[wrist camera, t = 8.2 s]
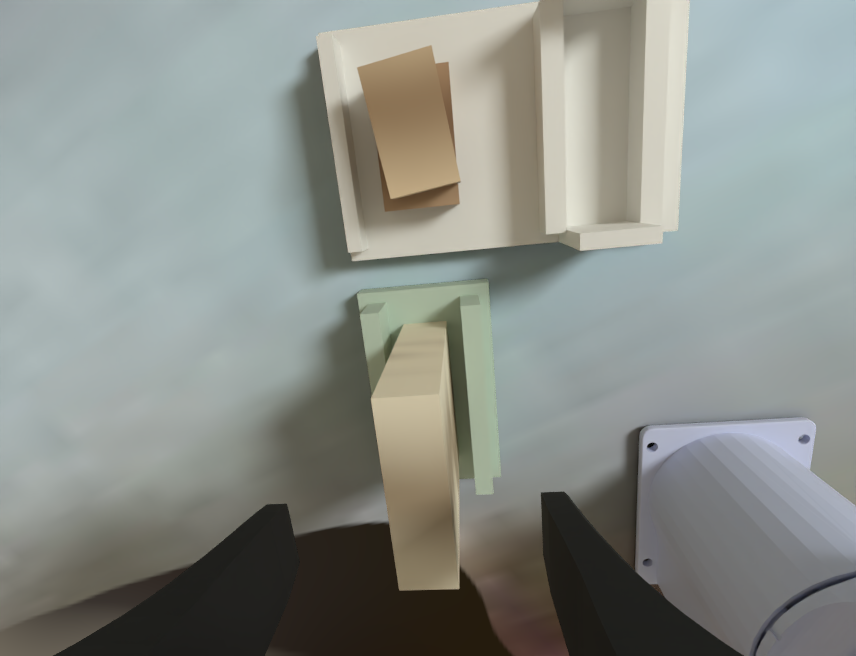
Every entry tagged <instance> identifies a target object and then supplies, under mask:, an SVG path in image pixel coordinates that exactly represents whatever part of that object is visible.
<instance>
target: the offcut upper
mask: <svg viewBox="0 0 856 656" xmlns="http://www.w3.org/2000/svg"><path fill="white" fill-rule="evenodd" d="M357 70H358V74H359V78H360V81H361V85H362V89H363V93H364V97H365V101H366V105H367V109H368V113H369V117H370V120H371V124H372V128H373V132H374V136H375V140H376V144H377V148H378V152H379V156H380V159H381V163H382V167H383V171H384V175H385V179H386V183H387V187H388V191H389V194H390V198H391V199H398V198H402V197H406V196H410V195H414V194H418V193H422V192H425V191H429V190H433V189H437V188H441V187H445V186H449V185H453V184H456V183H460V182H461V180H460V176H459V171H458V166H457V162H456V157H455V152H454V148H453V143H452V139H451V134H450V129H449V125H448V120H447V115H446V111H445V106H444V101H443V97H442V92H441V87H440V83H439V78H438V73H437V69H436V64H435V59H434V55H433V50H432V45H430V46H427V47H423V48H420V49H417V50H413V51H410V52H407V53H403V54H400V55H397V56H394V57H390V58H387V59H384V60H380V61H377V62H374V63H370V64H367V65H364V66H360V67H357Z"/></svg>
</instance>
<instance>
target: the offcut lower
mask: <svg viewBox="0 0 856 656" xmlns="http://www.w3.org/2000/svg"><path fill="white" fill-rule="evenodd" d="M436 69H437V73H438V78H439V83H440V87H441V92H442V97H443V101H444V106H445V111H446V115H447V120H448V125H449V129H450V134H451V139H452V143H453V148H454V152H455V157H456V150H455V138H454V125H453V112H452V99H451V87H450V74H449V62H443V63H436ZM376 145H377V144H376ZM377 153H378V161H379V169H380V177H381V185H382V193H383V201H384V209H385V212H388V211H398V210H407V209H417V208H426V207H436V206H446V205H455V204H460V201H459V188H458V183H456V184H453V185H449V186H445V187H441V188H437V189H433V190H429V191H425V192H422V193H418V194H414V195H410V196H406V197H402V198H398V199H391V198H390V194H389V191H388V187H387V183H386V179H385V175H384V171H383V167H382V163H381V159H380V156H379V152H378V148H377Z"/></svg>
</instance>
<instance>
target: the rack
mask: <svg viewBox="0 0 856 656" xmlns="http://www.w3.org/2000/svg"><path fill="white" fill-rule="evenodd" d="M689 3H690V0H541V1H538V2H531V3H524V4H518V5H511V6H504V7H497V8H490V9H483V10H476V11H469V12H462V13H455V14H448V15H441V16H434V17H427V18H420V19H413V20H407V21H400V22H393V23H386V24H379V25H372V26H365V27H358V28H351V29H344V30H337V31H330V32H323V33H318V34H319V36H316V40H317V46H318V53H319V60H320V67H321V73H322V80H323V87H324V93H325V100H326V107H327V113H328V120H329V127H330V134H331V140H332V147H333V154H334V160H335V167H336V174H337V180H338V187H339V194H340V201H341V207H342V214H343V221H344V227H345V234H346V241H347V248H348V253H351V258H352V261H361V260H371V259H382V258H392V257H403V256H414V255H424V254H435V253H445V252H456V251H467V250H477V249H488V248H498V247H509V246H519V245H530V244H541V243H551V242H560V243H563V244H565V245H567V246H570V247H572V248H575V249H577V250H579V251H584V250H595V249H606V248H617V247H628V246H638V245H649V244H660V243H662V241H663V232H668V231H678V218H679V198H680V179H681V159H682V140H683V120H684V101H685V81H686V62H687V42H688V22H689ZM430 45H432V50H433V55H434V59H435V64H436V63H443V62H449V74H450V87H451V99H452V112H453V125H454V138H455V150H456V162H457V166H458V171H459V176H460V180H461V182H460V183H458V188H459V201H460V204H455V205H446V206H436V207H426V208H417V209H407V210H398V211H388V212H385V209H384V201H383V193H382V185H381V177H380V169H379V161H378V153H377V145H376V140H375V136H374V132H373V128H372V124H371V120H370V117H369V113H368V109H367V105H366V101H365V97H364V93H363V89H362V85H361V81H360V78H359V74H358V70H357V67H360V66H364V65H367V64H370V63H374V62H377V61H380V60H384V59H387V58H390V57H394V56H397V55H400V54H403V53H407V52H410V51H413V50H417V49H420V48H423V47H427V46H430Z"/></svg>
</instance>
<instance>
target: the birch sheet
mask: <svg viewBox="0 0 856 656" xmlns="http://www.w3.org/2000/svg"><path fill="white" fill-rule="evenodd" d="M371 403H372V410H373V417H374V424H375V430H376V437H377V444H378V450H379V457H380V464H381V471H382V477H383V484H384V491H385V498H386V504H387V511H388V518H389V524H390V531H391V538H392V544H393V551H394V558H395V565H396V571H397V578H398V585H399V590H436V589H437V590H438V589H459V448H458V437H457V426H456V416H455V405H454V394H453V383H452V373H451V362H450V351H449V340H448V330H447V321H438V322H426V323H413V324H404V325H403V327H402V329H401V331H400V334H399V336H398V338H397V341H396V343H395V345H394V347H393V350H392V352H391V354H390V356H389V359H388V361H387V363H386V365H385V368H384V370H383V372H382V374H381V377H380V379H379V381H378V383H377V386H376V388H375V390H374V392H373V395H372V397H371Z"/></svg>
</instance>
